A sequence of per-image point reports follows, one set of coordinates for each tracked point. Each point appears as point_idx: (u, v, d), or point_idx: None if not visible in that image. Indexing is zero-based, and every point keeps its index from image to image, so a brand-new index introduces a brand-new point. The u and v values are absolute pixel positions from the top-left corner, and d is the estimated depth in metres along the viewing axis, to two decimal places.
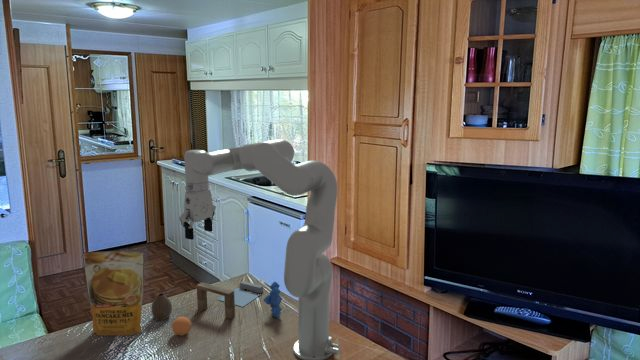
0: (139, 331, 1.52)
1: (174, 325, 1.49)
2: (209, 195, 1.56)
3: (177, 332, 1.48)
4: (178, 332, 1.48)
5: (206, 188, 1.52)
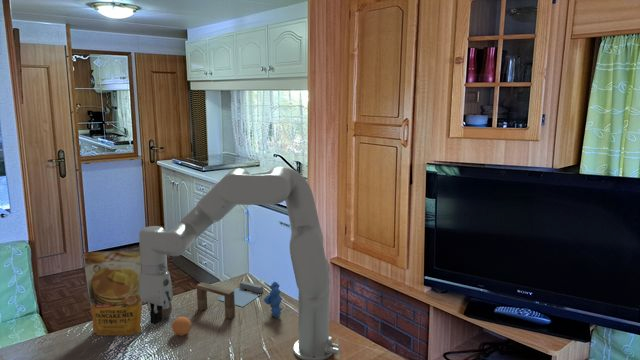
0: (139, 331, 1.52)
1: (174, 325, 1.49)
2: None
3: (177, 332, 1.48)
4: (178, 332, 1.48)
5: None
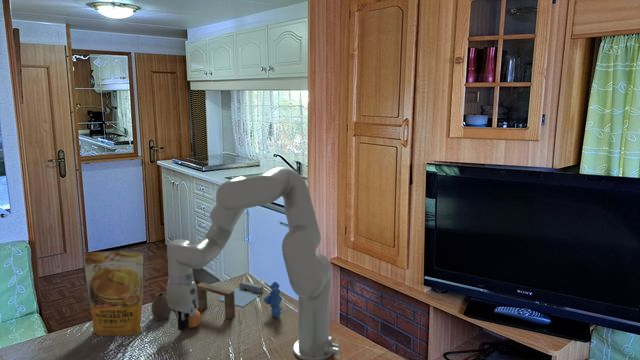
0: (139, 331, 1.52)
1: None
2: None
3: None
4: None
5: None
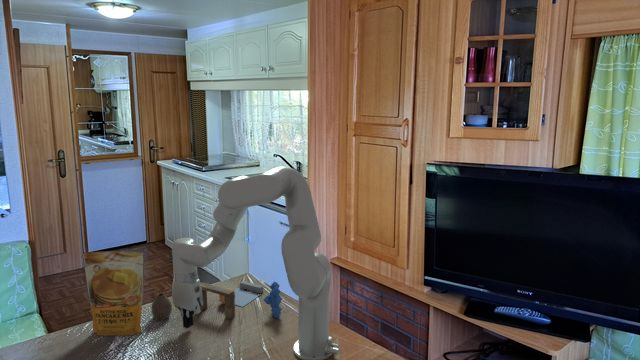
0: (139, 331, 1.52)
1: (227, 288, 1.74)
2: None
3: None
4: None
5: None
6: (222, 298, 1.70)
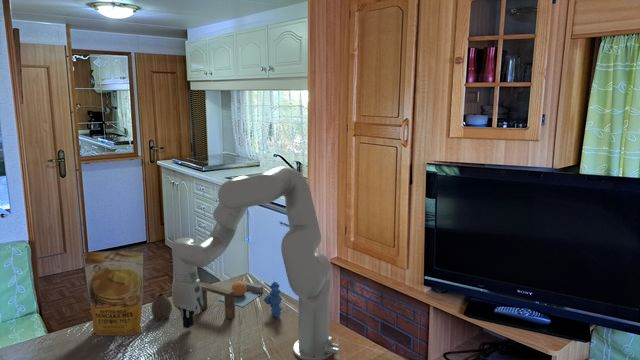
0: (139, 331, 1.52)
1: None
2: None
3: None
4: None
5: None
6: None
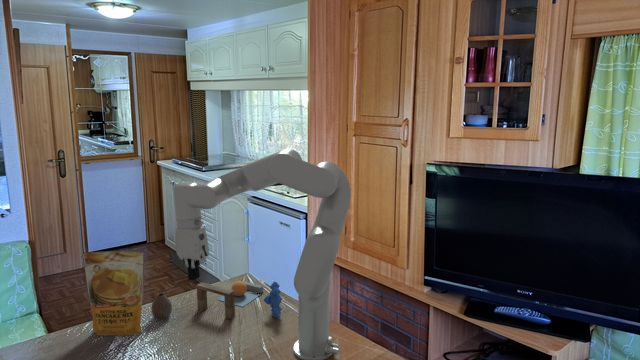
0: (139, 331, 1.52)
1: None
2: None
3: None
4: None
5: None
6: None
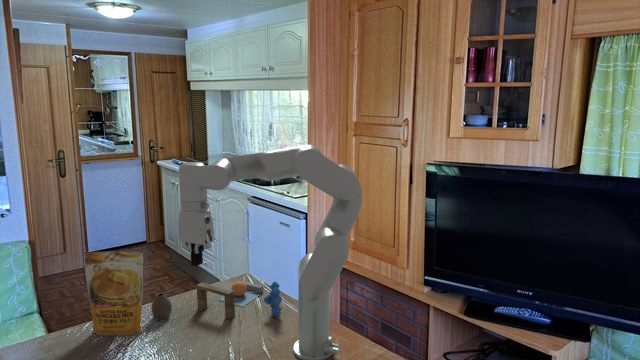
0: (139, 331, 1.52)
1: None
2: None
3: None
4: None
5: None
6: None
